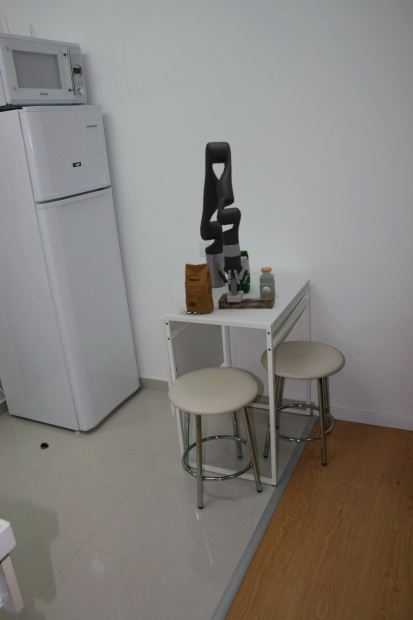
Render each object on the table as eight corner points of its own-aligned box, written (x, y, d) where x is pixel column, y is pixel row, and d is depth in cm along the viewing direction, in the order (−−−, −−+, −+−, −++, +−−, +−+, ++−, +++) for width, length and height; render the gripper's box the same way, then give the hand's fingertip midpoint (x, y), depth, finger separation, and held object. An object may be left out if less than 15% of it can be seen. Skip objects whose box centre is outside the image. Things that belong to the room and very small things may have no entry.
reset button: (260, 278, 230) (260, 270, 229) (262, 275, 235) (261, 267, 233) (271, 278, 229) (270, 269, 228) (272, 275, 233) (272, 267, 232)
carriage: (227, 301, 223) (225, 283, 221) (230, 296, 231) (229, 278, 228) (240, 301, 222) (239, 283, 219) (243, 296, 229) (242, 278, 226)
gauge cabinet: (260, 299, 232) (258, 278, 229) (262, 293, 239) (261, 273, 236) (273, 299, 230) (272, 278, 227) (275, 293, 238) (274, 273, 235)
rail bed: (218, 309, 224) (218, 300, 223) (223, 301, 234) (222, 293, 232) (272, 308, 218) (271, 299, 217) (274, 301, 228) (274, 292, 226)
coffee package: (191, 307, 231) (186, 260, 224) (217, 307, 227) (212, 260, 220) (183, 314, 222) (178, 266, 215) (210, 315, 218) (205, 266, 211)
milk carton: (249, 293, 242) (246, 253, 235) (231, 294, 244) (228, 254, 237) (252, 288, 250) (249, 249, 243) (234, 289, 252) (230, 250, 245)
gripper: (214, 256, 218) (218, 294, 224) (246, 255, 214) (249, 293, 220) (218, 252, 225) (221, 289, 230) (249, 251, 221) (251, 288, 227)
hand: (235, 291), depth 225 cm, fingers open, 3 cm apart
